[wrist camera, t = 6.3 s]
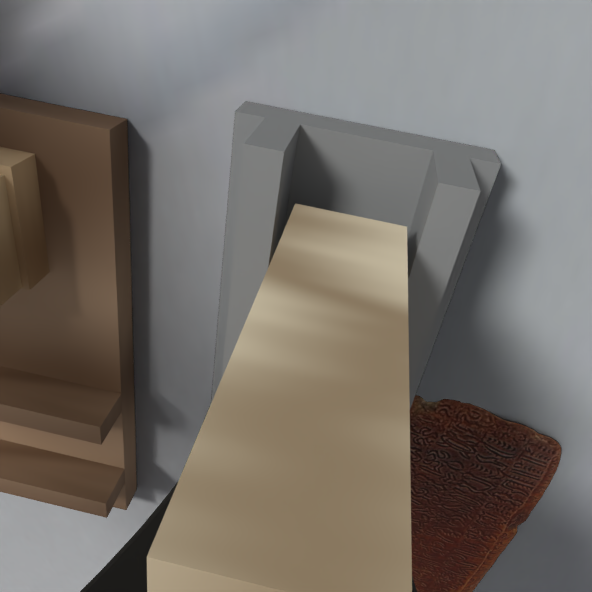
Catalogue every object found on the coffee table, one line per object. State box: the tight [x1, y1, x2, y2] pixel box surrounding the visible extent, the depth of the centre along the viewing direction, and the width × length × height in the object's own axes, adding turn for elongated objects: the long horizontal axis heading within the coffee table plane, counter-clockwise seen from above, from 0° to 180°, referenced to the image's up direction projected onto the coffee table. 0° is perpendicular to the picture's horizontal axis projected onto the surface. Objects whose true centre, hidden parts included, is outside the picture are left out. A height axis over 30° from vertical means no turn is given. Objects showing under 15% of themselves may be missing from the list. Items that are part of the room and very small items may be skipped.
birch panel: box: [147, 203, 412, 592], centre depth 11 cm, size 2×10×8 cm, turn 172°
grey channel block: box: [211, 101, 501, 408], centre depth 15 cm, size 12×6×3 cm, turn 172°
